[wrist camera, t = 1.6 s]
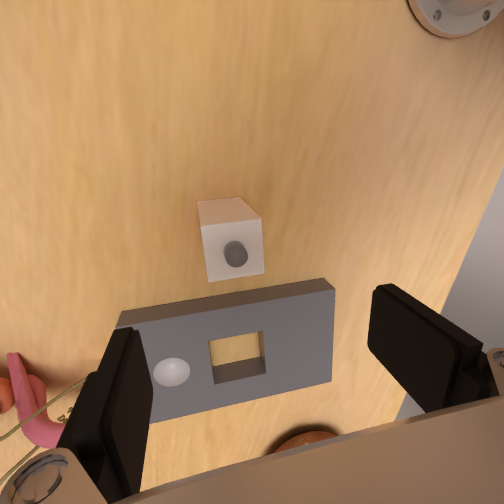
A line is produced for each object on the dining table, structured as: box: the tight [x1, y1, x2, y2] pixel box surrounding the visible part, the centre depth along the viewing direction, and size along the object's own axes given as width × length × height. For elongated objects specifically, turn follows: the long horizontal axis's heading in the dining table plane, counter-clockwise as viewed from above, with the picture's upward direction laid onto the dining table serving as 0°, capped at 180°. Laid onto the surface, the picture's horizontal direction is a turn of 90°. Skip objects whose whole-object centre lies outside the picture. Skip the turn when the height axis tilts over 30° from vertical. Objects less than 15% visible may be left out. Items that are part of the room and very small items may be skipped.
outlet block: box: [115, 278, 335, 424], centre depth 34 cm, size 24×14×3 cm, turn 94°
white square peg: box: [197, 197, 265, 282], centre depth 25 cm, size 4×4×11 cm
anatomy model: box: [0, 353, 87, 485], centre depth 28 cm, size 11×15×17 cm
